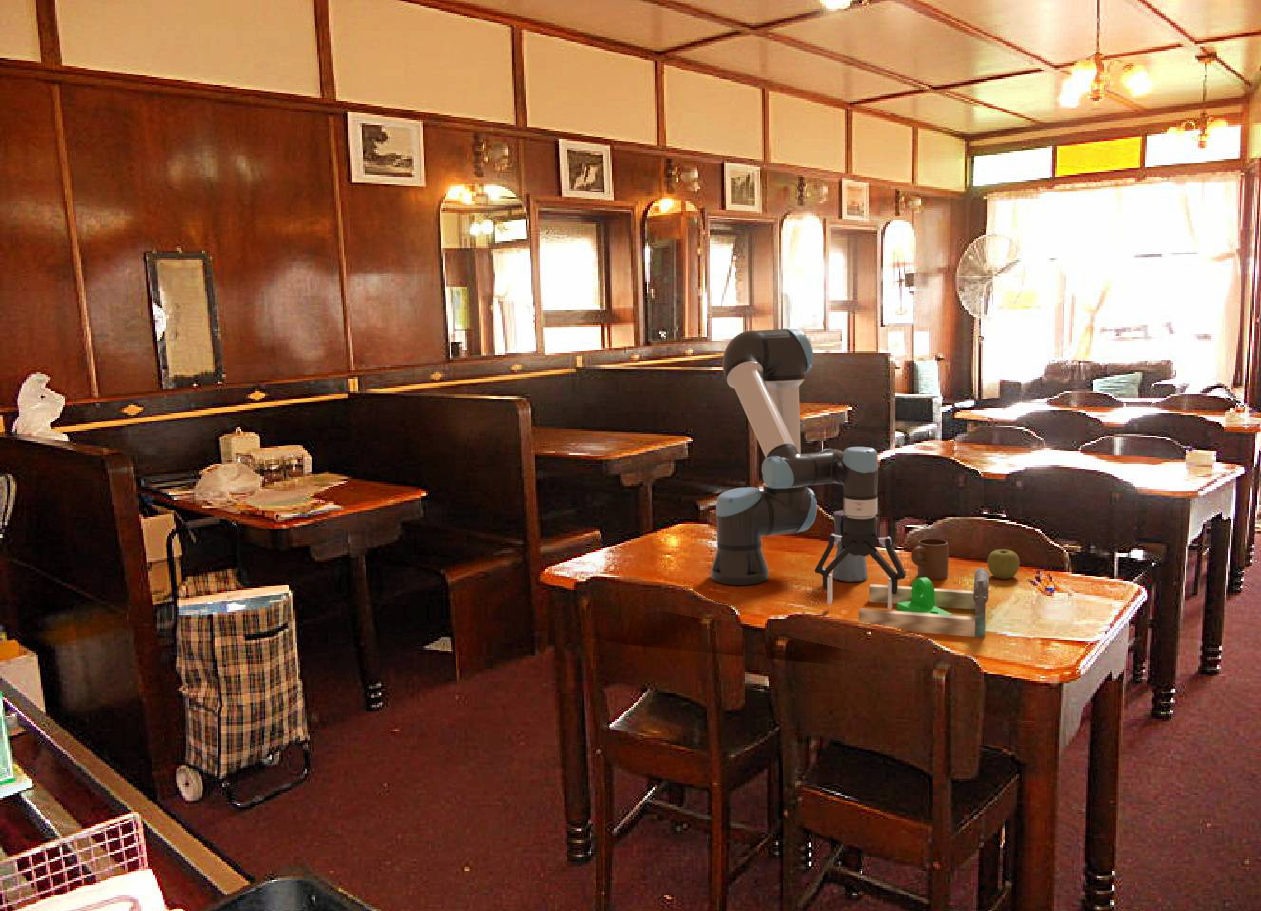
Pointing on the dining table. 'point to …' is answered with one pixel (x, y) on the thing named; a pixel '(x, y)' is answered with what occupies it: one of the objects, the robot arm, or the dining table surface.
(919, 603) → the mechanical part
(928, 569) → the mug
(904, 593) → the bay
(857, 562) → the moka pot
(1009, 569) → the apple
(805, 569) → the dining table surface
